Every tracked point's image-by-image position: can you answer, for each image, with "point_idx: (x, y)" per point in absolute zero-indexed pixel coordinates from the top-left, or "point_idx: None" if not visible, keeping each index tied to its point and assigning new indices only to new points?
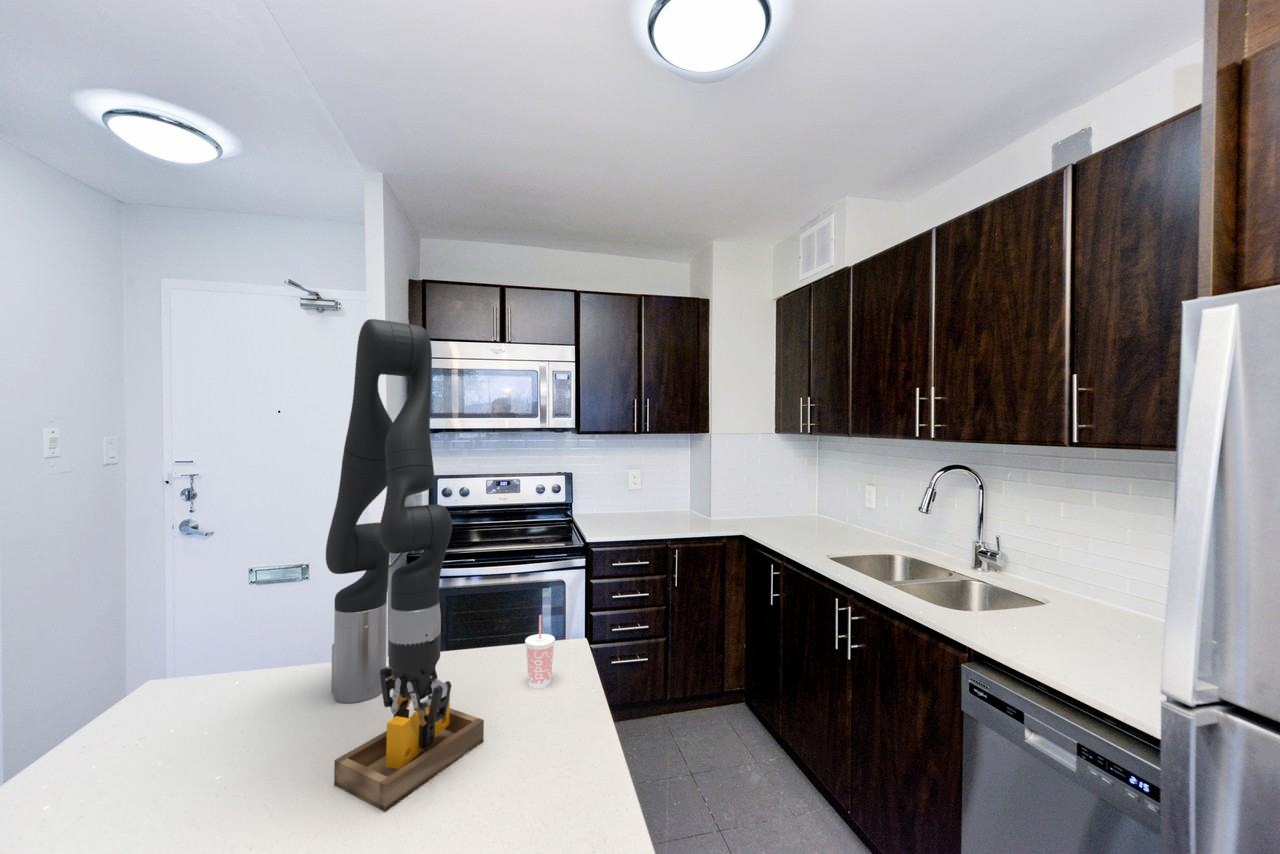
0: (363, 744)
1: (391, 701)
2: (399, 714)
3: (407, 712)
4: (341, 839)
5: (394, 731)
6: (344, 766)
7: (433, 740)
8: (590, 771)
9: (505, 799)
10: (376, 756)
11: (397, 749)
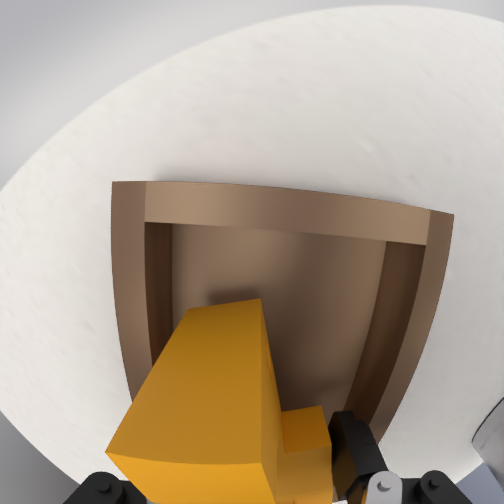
0: (426, 332)
1: (416, 501)
2: (356, 481)
3: (338, 492)
4: (180, 63)
5: (188, 418)
6: (400, 204)
7: None
8: (4, 401)
9: (8, 328)
10: (373, 339)
11: (185, 348)
